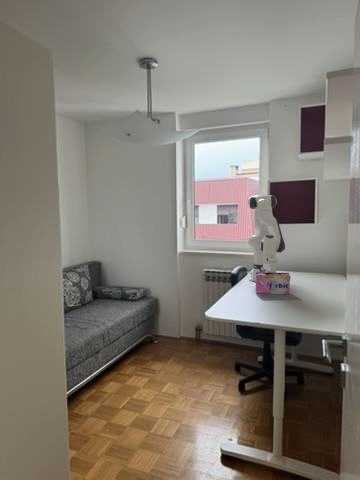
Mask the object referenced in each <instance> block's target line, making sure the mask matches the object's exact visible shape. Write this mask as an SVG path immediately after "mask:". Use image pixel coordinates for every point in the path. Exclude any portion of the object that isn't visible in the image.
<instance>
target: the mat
mask: <svg viewBox="0 0 360 480" xmlns="http://www.w3.org/2000/svg"><path fill="white" fill-rule="evenodd" d="M255 295H256V296H257V297H258V298H259V299H260V300H262V301H283V300H284V301H288V300H289V301H290V300H292V301H293V300H294V301H295V300H301V298H300V297H298V296H297V295H295V294H293V293H289V294H265V293H256V294H255Z"/></svg>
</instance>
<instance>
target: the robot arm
mask: <svg viewBox="0 0 360 480" xmlns="http://www.w3.org/2000/svg"><path fill="white" fill-rule="evenodd" d="M277 202H278V201H277V198H276V196H275V195H274V194H273V195H272V194H270V195H269V194H261V195H260V194H259V195H252V196H250V197H249V198H248V202H247V204H248V207H249V208H250V209H252V210H254V212H253V223H254V224H253V225H254V229H255V230H256V232H257V234H253V235H251V236H250V237H248V239H247V240H248V242H247V243H248V245H249V246H250V248H251V249H252V252H253V261H254V262H253V267H252V269H251V271H250V272H249V275H248V277H247V278H248V281H249V282H255V283H256V272H264V273H277V270H278V259H279V258H278V257H277V253H283V252H284V250H286V244H285V240H284V238H283V233H282V229H281V227H280V223H279V220H278V218H275V216H274V214H273V208H274V209H275V207H277V206H276V205H277ZM269 227H270V228H272V229H273V231H274V235H275V236H274V235H272V233H271V232H270V230H269V229H270V228H269Z"/></svg>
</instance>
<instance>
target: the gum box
mask: <svg viewBox="0 0 360 480" xmlns="http://www.w3.org/2000/svg"><path fill="white" fill-rule="evenodd" d="M290 285H291V274H290V273H289V272H276V273H264V272H256V282H255V293H256V294H290Z"/></svg>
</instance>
